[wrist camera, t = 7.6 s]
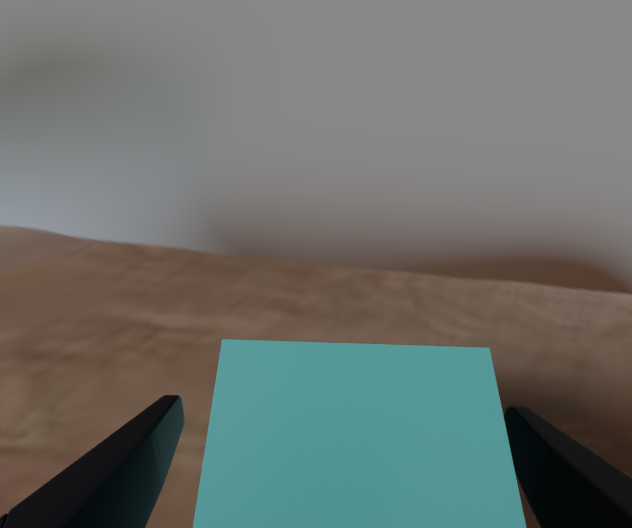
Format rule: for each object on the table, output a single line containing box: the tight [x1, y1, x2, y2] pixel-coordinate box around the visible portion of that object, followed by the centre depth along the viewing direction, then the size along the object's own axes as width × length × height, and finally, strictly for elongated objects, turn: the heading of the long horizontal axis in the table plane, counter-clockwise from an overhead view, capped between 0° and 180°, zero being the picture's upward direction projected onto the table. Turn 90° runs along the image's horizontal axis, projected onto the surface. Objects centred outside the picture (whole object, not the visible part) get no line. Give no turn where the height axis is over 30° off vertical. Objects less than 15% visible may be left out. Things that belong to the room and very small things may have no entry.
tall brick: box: [193, 339, 526, 528], centre depth 10 cm, size 6×6×10 cm
